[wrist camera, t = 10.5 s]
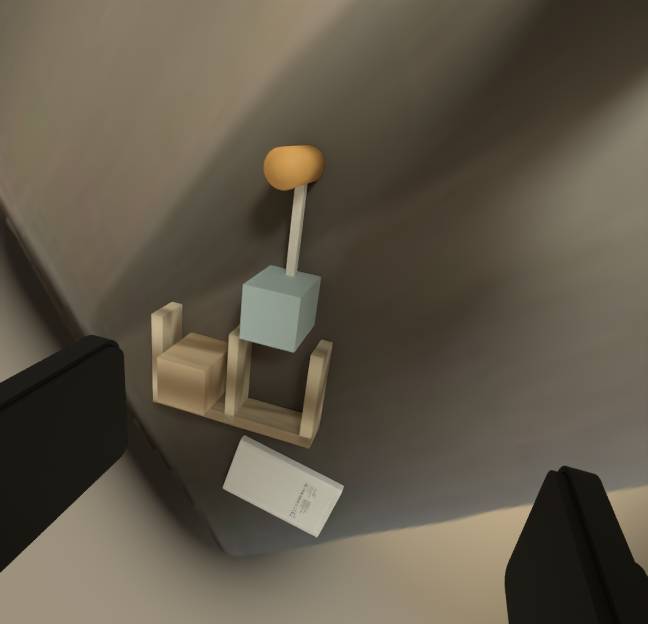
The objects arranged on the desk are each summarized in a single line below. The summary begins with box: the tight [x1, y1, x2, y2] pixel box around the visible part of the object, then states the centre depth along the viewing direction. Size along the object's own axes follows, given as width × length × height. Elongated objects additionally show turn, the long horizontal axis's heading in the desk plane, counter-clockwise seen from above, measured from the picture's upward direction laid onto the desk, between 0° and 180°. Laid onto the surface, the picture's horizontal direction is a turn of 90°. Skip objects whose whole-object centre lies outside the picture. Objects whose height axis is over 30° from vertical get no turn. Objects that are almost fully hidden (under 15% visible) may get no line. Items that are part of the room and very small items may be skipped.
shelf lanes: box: [151, 302, 333, 449], centre depth 45 cm, size 10×17×4 cm, turn 82°
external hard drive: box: [223, 435, 344, 537], centre depth 51 cm, size 2×8×12 cm
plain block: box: [157, 333, 229, 416], centre depth 45 cm, size 5×5×6 cm
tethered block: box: [239, 145, 325, 353], centre depth 38 cm, size 16×5×6 cm, turn 172°
